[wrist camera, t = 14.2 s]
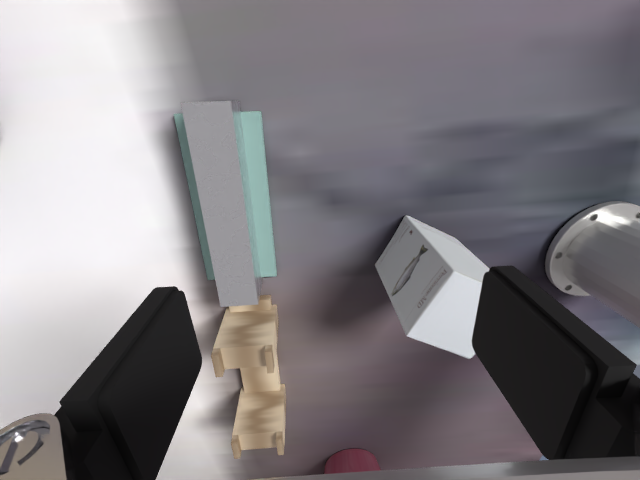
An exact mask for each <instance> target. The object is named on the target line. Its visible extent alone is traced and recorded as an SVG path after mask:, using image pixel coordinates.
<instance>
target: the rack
mask: <svg viewBox="0 0 640 480" xmlns="http://www.w3.org/2000/svg"><path fill="white" fill-rule="evenodd" d="M278 324H279V323H278V313H277V305H272V302H271V295H261V296H260V298H259V303H258V305H243V306H229V308H226V311H225V314H224V317H223V320H222V323H221V326H220V329H219V332H218V335H217V338H216V341H215V344H214V347H213V351H212V354H211V358H212V362H213V367H214V371H215V375H216V377H223V373H224V370H225V369H235V368H240V371H241V376H242V382H243V387H241V392H240V397H239V402H238V408H237V413H236V418H235V423H234V428H233V433H232V441H231V446H232V450H233V455H234V459H238V458H240V456H241V450H248V449H260V448H272V447H277V451H278V455H284V444H285V416H286V392H285V384H280V375H279V366H278V357H277V336H278Z"/></svg>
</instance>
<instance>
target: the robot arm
mask: <svg viewBox="0 0 640 480" xmlns="http://www.w3.org/2000/svg"><path fill="white" fill-rule="evenodd" d="M545 270H546V274H547V277H548V279H549V280H550V282H551V283H552V284H553V285H554V286H556V287H557V288H558V289H560V290H561V291H563V292H564V293H567V294H570V295H575V296H589V295H591V296H593V297H594V298H596V299H597V300H599V301H600V302H602V303H603V304H605V305H606V306H608V307H609V308H611V309H612V310H614V311H615V312H617V313H618V314H620V315H621V316H623V317H624V318H626V319H627V320H629V321H630V322H631V323H633V324H634V325H636V326H637V327H639V328H640V206H637V205H634V204H631V203H628V202H622V201H612V202H606V203H601V204H598V205H595V206H593V207H590V208H588V209H586V210H584V211H583V212H581V213H579V214H578V215H576V216H575V217H574V218H572V219H571V220H570V221H568V222H567V223H566V224H565V225H564V226H563V227H562V228H561V229H560V231H559V232H558V233H557V235H556V236H555V237H554V239H553V241H552V242H551V244H550V246H549V249H548V252H547V254H546V260H545ZM472 346H473V349H474V351H475V353H476V355H477V356H478V358H479V359H480V361H481V362H482V364H483V365H484V367H485V368H486V370H487V371H488V373H489V374H490V376H491V377H492V379H493V380H494V382H495V383H496V385H497V386H498V388H499V389H500V391H501V392H502V394H503V395H504V397H505V398H506V400H507V401H508V403H509V404H510V406H511V407H512V409H513V411H514V412H515V414H516V415H517V417H518V418H519V420H520V421H521V423H522V424H523V426H524V427H525V429H526V430H527V432H528V433H529V435H530V436H531V438H532V439H533V441H534V442H535V444H536V445H537V447H538V448H539V450H540V451H541V453H542V454H543V455H544V456H545V457H546V458H547V459H549V460H542V461H525V462H508V463H492V464H475V465H458V466H442V467H426V468H411V469H395V470H380V471H365V472H350V473H335V474H320V475H305V476H290V477H276V478H263V479H249V480H640V379H639V378H638V377H637V376H635V375H634V374H633V372H634V370H635V368H636V364H635V363H634V362H632V361H631V360H630V359H629V358H627V357H626V356H625V355H624V354H622V353H621V352H620V351H619V350H617V349H616V348H615V347H614V346H612V345H611V344H610V343H609V342H607V341H606V340H605V339H604V338H602V337H601V336H600V335H599V334H597V333H596V332H595V331H594V330H592V329H591V328H590V327H589V326H588V325H586V324H585V323H584V322H583V321H581V320H580V319H579V318H578V317H576V316H575V315H574V314H573V313H571V312H570V311H569V310H568V309H566V308H565V307H564V306H563V305H561V304H560V303H559V302H558V301H556V300H555V299H554V298H553V297H551V296H550V295H549V294H548V293H546V292H545V291H544V290H543V289H541V288H540V287H539V286H538V285H536V284H535V283H534V282H533V281H532V280H530V279H529V278H528V277H527V276H525V275H524V274H523V273H522V272H520V271H519V270H518V269H517V268H515V267H514V266H497V267H491V268H490V270H489V272H486V273H485V274H484V276H483V281H482V287H481V292H480V298H479V303H478V308H477V314H476V319H475V325H474V330H473V335H472ZM201 365H202V357H201V353H200V349H199V345H198V342H197V338H196V334H195V331H194V327H193V323H192V320H191V316H190V312H189V309H188V305H187V301H186V298H185V294H184V292H183V291H179V290H178V288H177V287H175V286H173V287H157V288H155V289H153V290H152V292H151V293H150V294H149V295H148V296H147V298H146V299H145V300H144V301H143V302H142V304H141V305H140V306H139V307H138V308H137V310H136V311H135V312H134V313H133V314H132V316H131V317H130V318H129V319H128V320H127V322H126V323H125V324H124V325H123V326H122V328H121V329H120V330H119V331H118V332H117V334H116V335H115V336H114V337H113V338H112V339H111V341H110V342H109V343H108V344H107V345H106V347H105V348H104V349H103V350H102V351H101V353H100V354H99V355H98V356H97V357H96V359H95V360H94V361H93V362H92V363H91V365H90V366H89V367H88V368H87V369H86V371H85V372H84V373H83V374H82V375H81V377H80V378H79V379H78V380H77V381H76V383H75V384H74V385H73V386H72V387H71V389H70V390H69V391H68V392H67V393H66V395H65V396H64V397H63V398H62V399H61V401H60V404H61V408H60V409H59V410H58V411H57V412H56V414H55V415H52V414H47V413H40V414H35V415H31V416H27V417H25V418H22V419H20V420H18V421H15V422H13V423H11V424H10V425H8V426H6V427H4V428H3V429H1V430H0V480H155V479H156V477H157V475H158V472H159V470H160V467H161V465H162V462H163V460H164V457H165V455H166V453H167V450H168V448H169V445H170V443H171V440H172V438H173V435H174V433H175V430H176V428H177V426H178V423H179V421H180V418H181V416H182V413H183V411H184V408H185V406H186V404H187V401H188V399H189V396H190V394H191V391H192V389H193V386H194V384H195V382H196V379H197V377H198V374H199V372H200V369H201Z"/></svg>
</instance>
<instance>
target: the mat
mask: <svg viewBox="0 0 640 480" xmlns="http://www.w3.org/2000/svg"><path fill="white" fill-rule="evenodd" d="M174 118H175V123H176V128H177V133H178V138H179V142H180V147H181V152H182V157H183V162H184V167H185V172H186V176H187V181H188V186H189V191H190V196H191V201H192V206H193V211H194V215H195V220H196V225H197V230H198V235H199V240H200V245H201V249H202V254H203V259H204V264H205V269H206V274H207V279H208V280H215V276H214V271H213V266H212V261H211V256H210V251H209V245H208V240H207V235H206V230H205V225H204V220H203V215H202V210H201V205H200V200H199V195H198V189H197V184H196V179H195V174H194V169H193V164H192V159H191V154H190V149H189V144H188V139H187V133H186V128H185V123H184V118H183V114H174ZM241 119H242V127H243V135H244V143H245V151H246V159H247V167H248V175H249V183H250V191H251V199H252V207H253V215H254V223H255V231H256V240H257V248H258V256H259V264H260V272H261V277H270V276H277V270H276V260H275V249H274V239H273V229H272V218H271V208H270V197H269V187H268V177H267V166H266V156H265V146H264V135H263V125H262V114H261V111H253V112H241Z"/></svg>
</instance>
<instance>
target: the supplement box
mask: <svg viewBox="0 0 640 480" xmlns="http://www.w3.org/2000/svg"><path fill="white" fill-rule="evenodd" d="M375 267H376V269H377V271H378V274H379V276H380V278H381V280H382V283H383V285H384V287H385V289H386V291H387V294H388V296H389V298H390V300H391V303H392V305H393V307H394V309H395V311H396V314H397V316H398V318H399V320H400V323H401V325H402V327H403V329H404V331H405V334H406V336H407V337H410V338H413V339H416V340H418V341H421V342H424V343H427V344H430V345H433V346H435V347H438V348H441V349H444V350H446V351H449V352H452V353H454V354H457V355H459V356H462V357H465V358H467V359H470V358H472V357H473V356H474V355H475V351H474V349H473V346H472V335H473V330H474V325H475V319H476V314H477V308H478V303H479V298H480V292H481V287H482V281H483V276H484V274H485V273H486V272H489V270H490V269H489V268H488V267H487V266H486V265H485V264H484V263H482V262H481V261H480V260H479V259H478V258H477V257H476V256H475V255H473V254H472V253H471V252H470V251H469V250H468V249H467V248H466V247H465V246H464V245H462V244H461V243H460V242H459V241H458V240H457V239H456V238H454V237H452V236H450V235H448V234H446V233H444V232H441V231H439V230H437V229H435V228H433V227H431V226H429V225H427V224H424V223H422V222H420V221H418V220H416V219H414V218H412V217H409V216H407V215H405V216H404V218H403V220H402V222H401V224H400V225H399V227H398V229H397V231H396V232H395V234H394V236H393V237H392V239H391V241H390V242H389V244H388V245H387V247H386V248H385V250H384V252H383V253H382V255H381V256H380V258H379V259H378V261H377V262H376V263H375Z"/></svg>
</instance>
